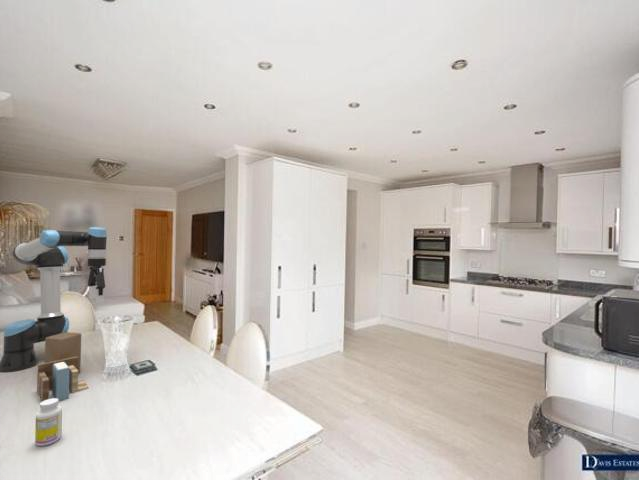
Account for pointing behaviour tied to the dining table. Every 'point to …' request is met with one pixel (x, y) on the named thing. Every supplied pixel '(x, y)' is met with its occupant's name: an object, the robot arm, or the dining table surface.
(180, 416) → the dining table surface
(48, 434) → the supplement bottle
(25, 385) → the dining table surface
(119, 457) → the dining table surface
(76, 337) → the wooden block
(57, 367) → the book box
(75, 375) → the bookend
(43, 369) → the shelf corner
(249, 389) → the dining table surface
